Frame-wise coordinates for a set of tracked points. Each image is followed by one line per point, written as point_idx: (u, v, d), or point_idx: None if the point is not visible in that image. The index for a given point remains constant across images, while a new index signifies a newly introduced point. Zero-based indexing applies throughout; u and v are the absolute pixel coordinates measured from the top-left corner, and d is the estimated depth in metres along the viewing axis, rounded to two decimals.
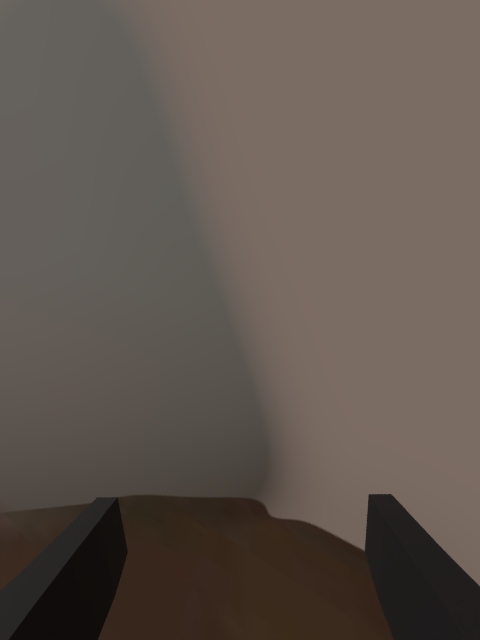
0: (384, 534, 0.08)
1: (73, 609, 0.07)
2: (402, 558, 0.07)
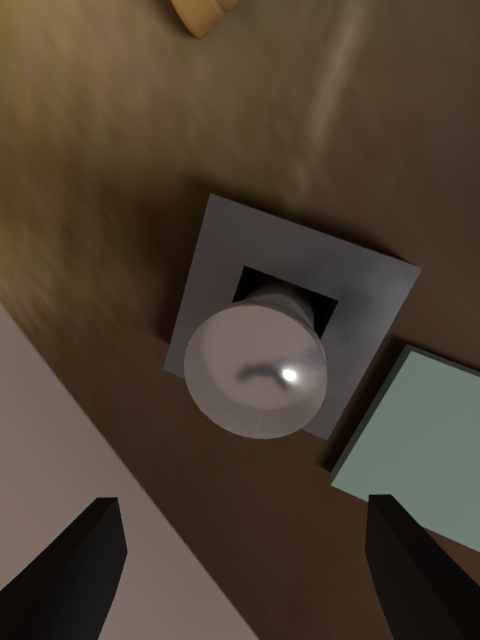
0: (384, 534, 0.08)
1: (72, 609, 0.07)
2: (402, 558, 0.07)
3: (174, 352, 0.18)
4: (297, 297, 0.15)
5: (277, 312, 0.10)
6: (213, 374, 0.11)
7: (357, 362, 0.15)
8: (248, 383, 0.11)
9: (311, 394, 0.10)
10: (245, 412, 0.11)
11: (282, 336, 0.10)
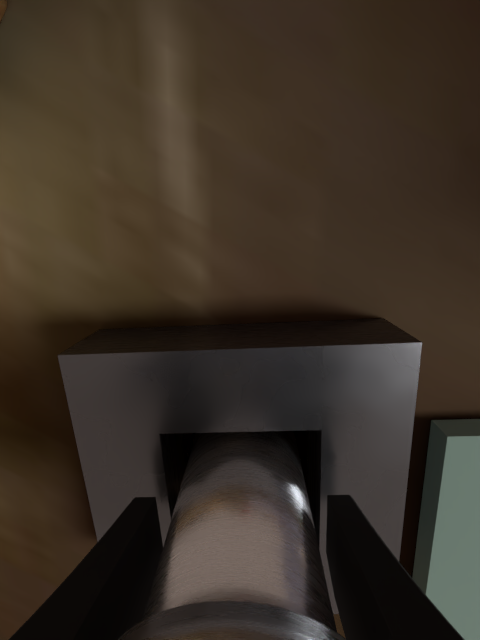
0: (337, 534, 0.08)
1: (122, 610, 0.07)
2: (350, 558, 0.07)
3: None
4: (259, 451, 0.09)
5: None
6: None
7: (388, 499, 0.10)
8: None
9: None
10: None
11: None
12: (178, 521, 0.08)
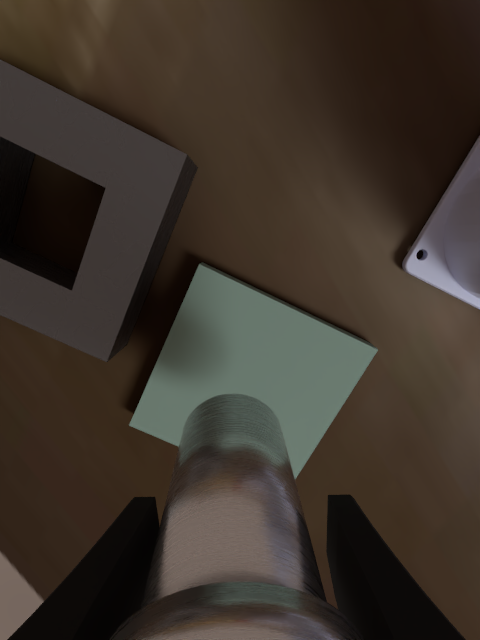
0: (338, 534, 0.08)
1: (121, 610, 0.07)
2: (350, 558, 0.07)
3: None
4: (245, 441, 0.09)
5: None
6: None
7: (131, 265, 0.14)
8: None
9: None
10: None
11: None
12: (169, 515, 0.08)
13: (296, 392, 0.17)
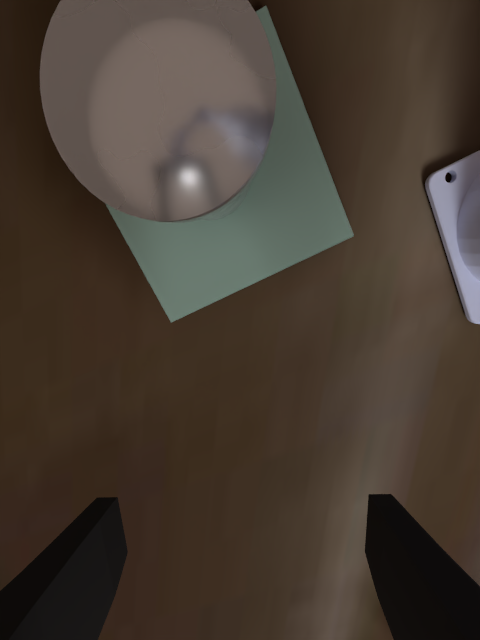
0: (384, 534, 0.08)
1: (72, 609, 0.07)
2: (402, 558, 0.07)
3: None
4: None
5: None
6: (92, 81, 0.07)
7: None
8: (149, 108, 0.07)
9: (246, 144, 0.07)
10: (134, 165, 0.07)
11: (221, 23, 0.06)
12: None
13: (255, 223, 0.15)
